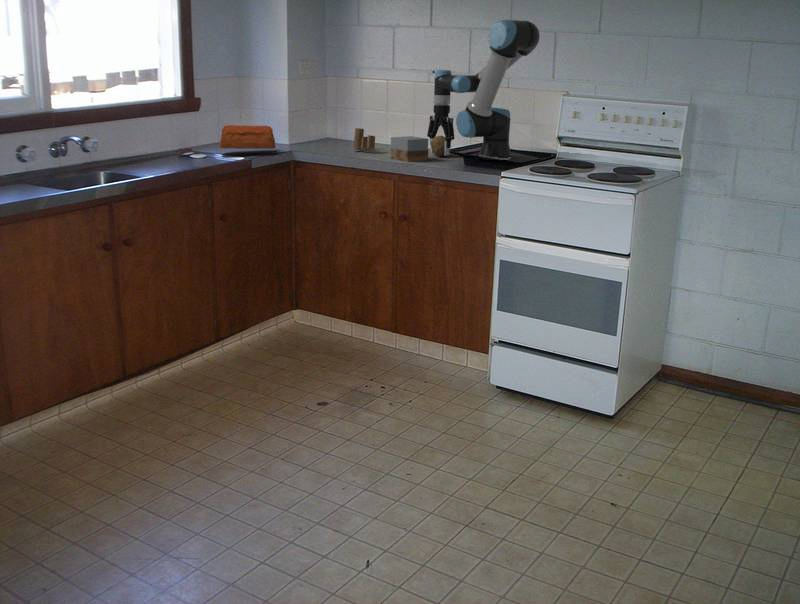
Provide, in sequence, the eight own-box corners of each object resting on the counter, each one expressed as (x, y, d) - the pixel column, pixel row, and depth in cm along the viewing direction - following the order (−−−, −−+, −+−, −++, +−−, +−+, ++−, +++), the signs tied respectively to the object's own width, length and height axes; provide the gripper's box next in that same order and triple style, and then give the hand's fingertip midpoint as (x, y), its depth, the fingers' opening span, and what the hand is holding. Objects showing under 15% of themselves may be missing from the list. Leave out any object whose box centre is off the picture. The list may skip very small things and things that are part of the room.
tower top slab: (427, 149, 397) (428, 138, 395) (407, 151, 389) (407, 139, 388) (411, 147, 406) (411, 136, 404) (390, 148, 398) (391, 137, 397)
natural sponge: (445, 155, 416) (446, 134, 413) (452, 158, 408) (453, 136, 405) (427, 156, 413) (428, 134, 411) (434, 158, 405) (434, 136, 403)
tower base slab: (428, 161, 398) (428, 150, 397) (407, 162, 391) (407, 151, 389) (411, 158, 407) (411, 147, 406) (390, 159, 400) (391, 148, 398)
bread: (220, 145, 437) (219, 124, 434) (274, 146, 441) (274, 124, 438) (219, 149, 422) (218, 126, 419) (275, 149, 426) (275, 127, 423)
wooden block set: (377, 152, 423) (379, 131, 421) (360, 151, 420) (362, 129, 418) (365, 149, 440) (367, 128, 437) (349, 148, 436) (351, 127, 434)
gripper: (464, 105, 398) (461, 155, 405) (432, 102, 414) (430, 151, 421) (451, 106, 394) (449, 156, 400) (420, 103, 410) (418, 151, 416)
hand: (439, 153), depth 410 cm, fingers closed on natural sponge, 9 cm apart
